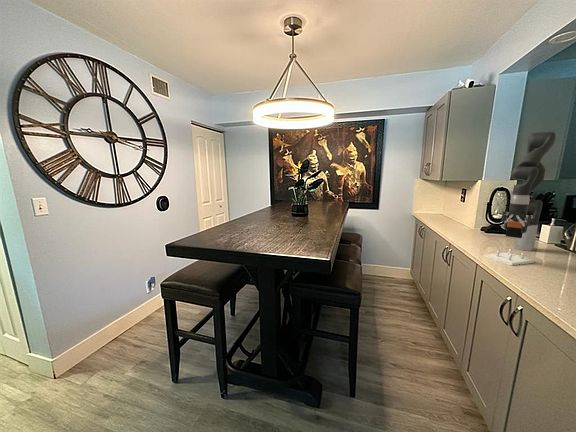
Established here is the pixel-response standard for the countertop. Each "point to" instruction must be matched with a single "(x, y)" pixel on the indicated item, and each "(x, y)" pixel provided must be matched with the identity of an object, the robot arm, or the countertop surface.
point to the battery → (514, 229)
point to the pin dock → (510, 258)
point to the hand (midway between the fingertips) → (514, 231)
